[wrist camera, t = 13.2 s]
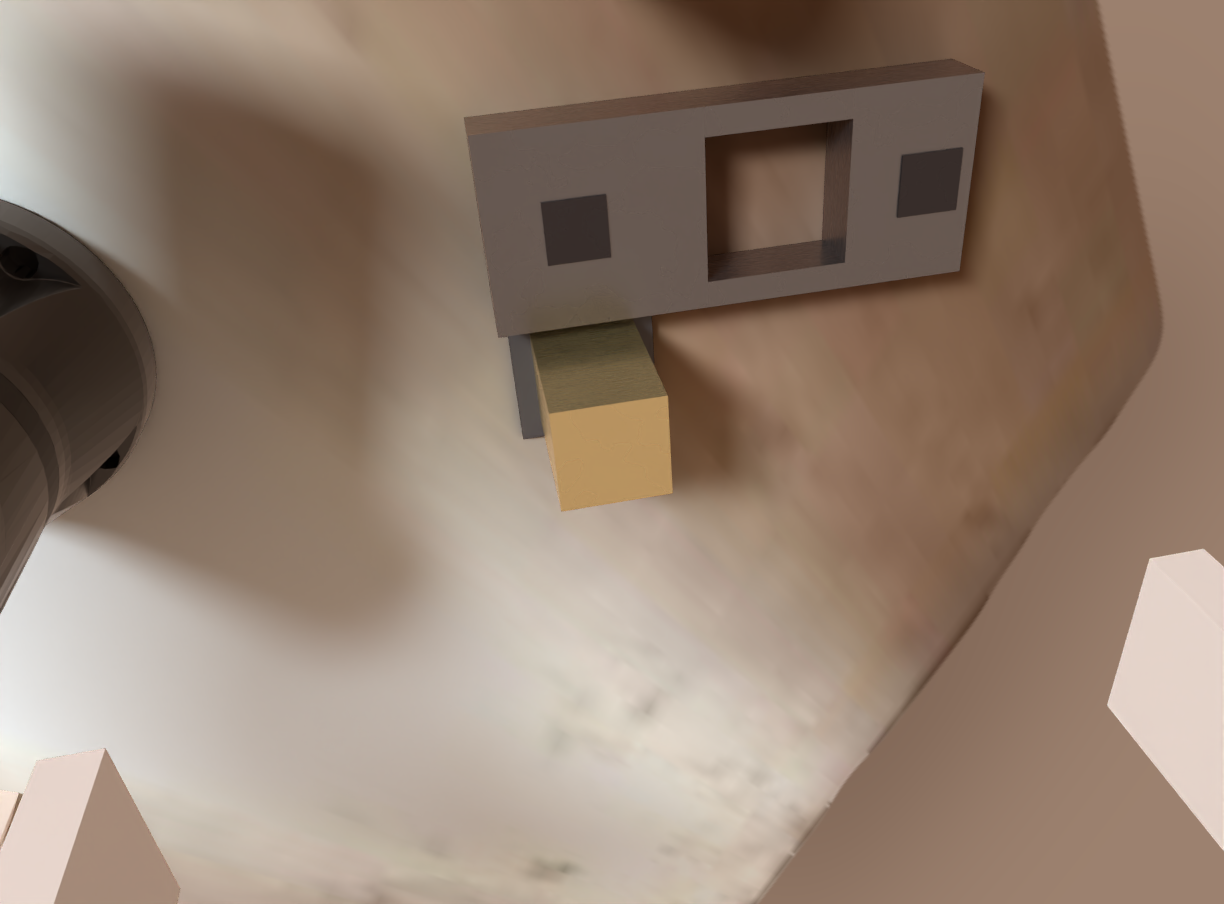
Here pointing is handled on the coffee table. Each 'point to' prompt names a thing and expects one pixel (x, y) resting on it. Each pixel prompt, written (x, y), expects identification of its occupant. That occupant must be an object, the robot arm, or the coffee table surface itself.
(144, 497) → the coffee table surface
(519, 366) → the rubber mat
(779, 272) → the rack rail
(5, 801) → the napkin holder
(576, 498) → the yellow rectangular block
